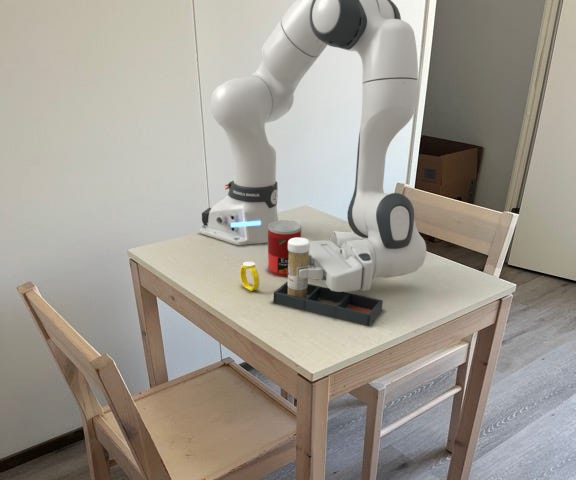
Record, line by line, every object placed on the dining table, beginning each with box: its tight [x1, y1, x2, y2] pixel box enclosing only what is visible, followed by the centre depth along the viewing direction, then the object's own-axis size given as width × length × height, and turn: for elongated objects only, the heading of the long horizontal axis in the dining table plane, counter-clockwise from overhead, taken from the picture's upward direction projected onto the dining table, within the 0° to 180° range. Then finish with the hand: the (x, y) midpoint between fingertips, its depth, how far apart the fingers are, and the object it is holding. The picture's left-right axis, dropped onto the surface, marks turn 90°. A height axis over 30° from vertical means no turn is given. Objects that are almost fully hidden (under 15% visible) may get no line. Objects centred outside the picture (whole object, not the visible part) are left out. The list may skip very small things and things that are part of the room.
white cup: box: [329, 230, 367, 247], centre depth 146 cm, size 8×8×10 cm
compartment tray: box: [273, 280, 384, 327], centre depth 127 cm, size 22×8×2 cm, turn 63°
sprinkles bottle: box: [287, 237, 311, 298], centre depth 127 cm, size 5×5×14 cm
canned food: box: [267, 219, 302, 277], centre depth 141 cm, size 8×8×11 cm
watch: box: [239, 261, 260, 292], centre depth 133 cm, size 6×3×6 cm, turn 35°
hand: (294, 268), depth 126 cm, fingers closed on sprinkles bottle, 4 cm apart
